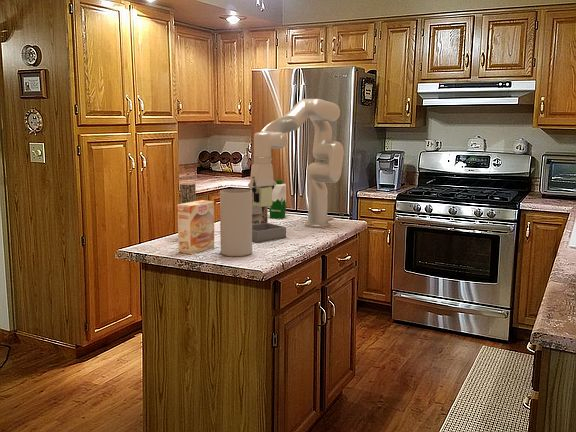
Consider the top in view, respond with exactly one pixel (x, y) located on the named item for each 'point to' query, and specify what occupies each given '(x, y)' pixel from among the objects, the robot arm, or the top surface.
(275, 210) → the milk carton
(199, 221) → the coffeecake box
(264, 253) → the top surface
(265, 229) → the tub
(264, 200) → the pale yellow block
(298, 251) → the top surface
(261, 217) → the coffee box
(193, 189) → the bark textured wooden post
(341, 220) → the top surface
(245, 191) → the cylinder vase
